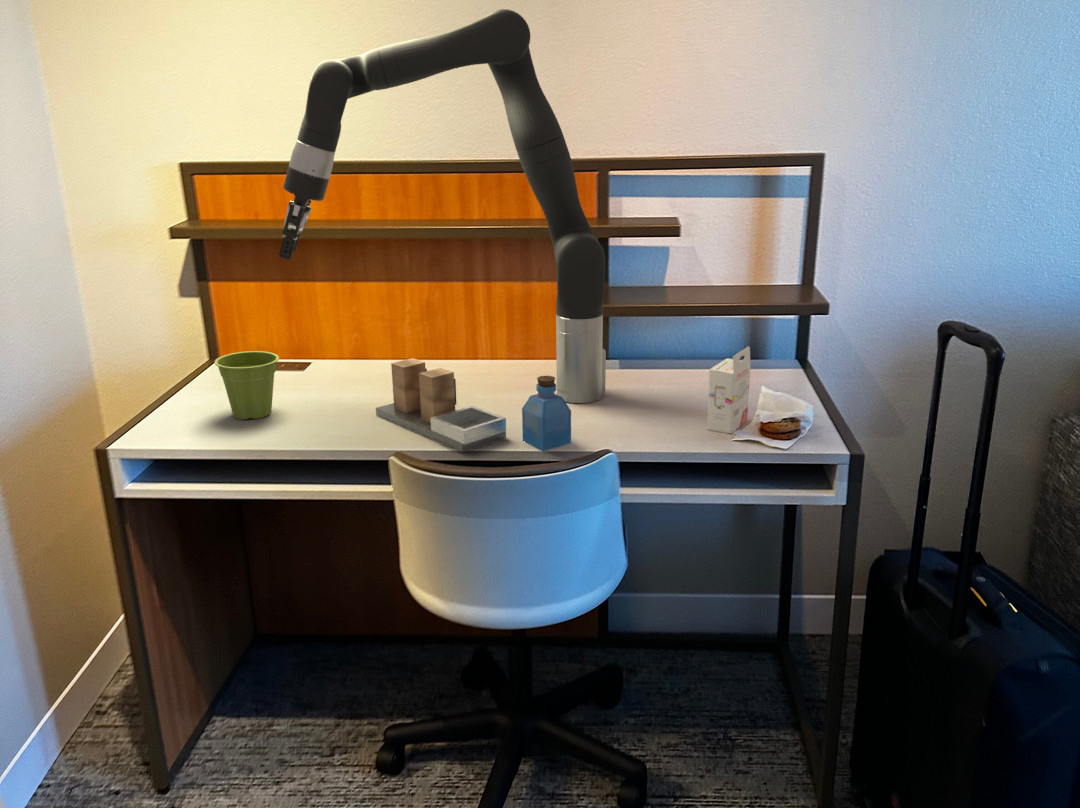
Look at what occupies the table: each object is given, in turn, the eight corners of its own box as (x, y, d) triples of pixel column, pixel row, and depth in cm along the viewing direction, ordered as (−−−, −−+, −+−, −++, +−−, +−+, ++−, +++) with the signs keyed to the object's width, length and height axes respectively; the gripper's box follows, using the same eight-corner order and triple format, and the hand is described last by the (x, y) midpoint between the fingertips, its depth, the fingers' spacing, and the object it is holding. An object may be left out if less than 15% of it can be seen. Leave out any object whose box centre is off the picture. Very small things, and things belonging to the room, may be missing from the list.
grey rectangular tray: (418, 403, 191) (417, 384, 189) (507, 438, 171) (506, 417, 170) (376, 415, 184) (375, 395, 183) (463, 453, 165) (462, 431, 164)
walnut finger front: (445, 412, 181) (443, 367, 178) (458, 417, 178) (456, 371, 175) (421, 419, 177) (418, 373, 174) (434, 424, 174) (431, 377, 172)
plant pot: (268, 426, 179) (261, 369, 175) (210, 422, 181) (202, 366, 178) (294, 405, 190) (289, 351, 186) (239, 403, 192) (233, 349, 189)
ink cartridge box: (723, 416, 181) (727, 341, 177) (747, 420, 179) (752, 345, 174) (705, 429, 175) (709, 352, 170) (731, 434, 172) (735, 356, 167)
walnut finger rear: (417, 401, 187) (415, 357, 184) (429, 406, 184) (427, 361, 181) (394, 407, 184) (391, 363, 181) (406, 412, 181) (403, 367, 178)
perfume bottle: (571, 443, 169) (571, 379, 165) (542, 451, 166) (541, 385, 162) (550, 433, 174) (550, 370, 170) (522, 441, 170) (521, 377, 166)
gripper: (326, 181, 169) (303, 267, 173) (332, 172, 182) (310, 253, 186) (284, 167, 167) (261, 254, 171) (293, 160, 180) (272, 241, 185)
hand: (287, 253), depth 179 cm, fingers open, 8 cm apart
